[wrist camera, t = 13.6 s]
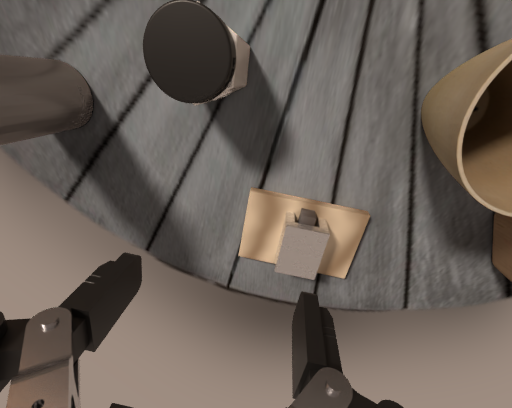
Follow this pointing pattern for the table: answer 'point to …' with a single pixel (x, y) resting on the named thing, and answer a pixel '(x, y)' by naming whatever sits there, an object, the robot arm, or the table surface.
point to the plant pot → (475, 126)
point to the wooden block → (502, 244)
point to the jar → (194, 53)
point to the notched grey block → (301, 247)
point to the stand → (306, 212)
